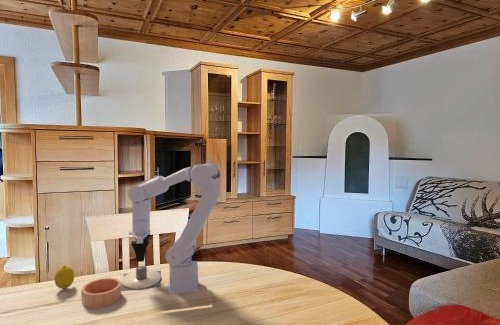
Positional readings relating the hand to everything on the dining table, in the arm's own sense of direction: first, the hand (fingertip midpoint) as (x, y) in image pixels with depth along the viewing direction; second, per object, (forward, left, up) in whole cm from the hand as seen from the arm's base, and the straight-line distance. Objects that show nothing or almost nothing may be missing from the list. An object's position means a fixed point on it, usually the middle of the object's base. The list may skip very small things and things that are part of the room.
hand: (141, 257), depth 108 cm
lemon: (+24, 0, -9) cm, 26 cm away
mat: (0, 0, -9) cm, 9 cm away
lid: (0, 0, -8) cm, 8 cm away
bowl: (+11, +10, -9) cm, 17 cm away
